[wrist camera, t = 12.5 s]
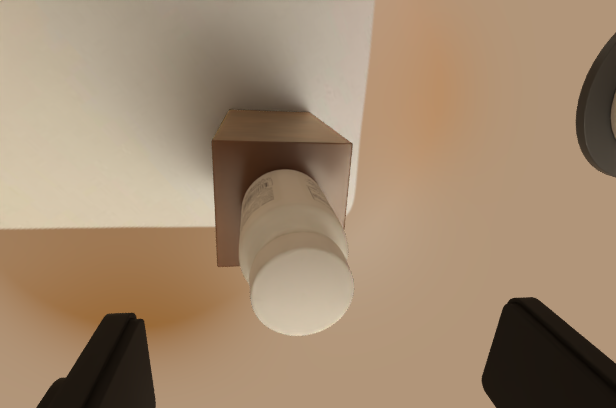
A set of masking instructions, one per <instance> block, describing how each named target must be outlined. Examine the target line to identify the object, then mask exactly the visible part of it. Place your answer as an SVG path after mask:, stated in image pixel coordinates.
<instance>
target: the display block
mask: <svg viewBox="0 0 616 408" xmlns="http://www.w3.org/2000/svg"><path fill="white" fill-rule="evenodd" d="M352 145H353V144H352V143H351V142H349V141H348V140H347V139H345V138H344V137H343V136H341V135H340V134H339V133H337V132H336V131H334V130H333V129H332V128H330V127H329V126H328V125H326V124H325V123H324V122H322V121H321V120H320V119H318V118H317V117H315V116H314V115H313V114H311V113H310V112H287V111H260V110H234V109H229V111H228V113H227V114H226V116H225V118H224V120H223V122H222V123H221V125H220V127H219V129H218V131H217V132H216V134H215V136H214V138H213V139H212V160H213V181H214V203H215V225H216V244H217V245H216V247H217V266H218V267H230V266H240V263H239V239H240V225H241V209H242V202H243V199H244V196H245V193H246V191H247V190H248V188H249V187H250V186H251V185H252V183H253V182H254V181H255V180H257V179H258V178H259V177H261V176H262V175H264V174H266V173H268V172H271V171H275V170H282V169H289V170H295V171H299V172H301V173H304V174H306V175H308V176H309V177H310V178H312V179H313V180H314V181H315V182H316V183H317V184H318V186H319V187H320V188H321V190H322V192H323V193H324V195H325V197H326V199H327V200H328V202H329V204H330V205H331V207H332V209H333V211H334V212H335V214H336V216H337V218H338V219H339V221H340V223H341V225H342V227H343V229H344V227H345V217H346V206H347V196H348V186H349V176H350V166H351V155H352Z"/></svg>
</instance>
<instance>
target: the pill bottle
mask: <svg viewBox="0 0 616 408" xmlns="http://www.w3.org/2000/svg"><path fill="white" fill-rule="evenodd" d="M347 259H348V242H347V238H346V234H345V231H344V229H343V227H342V225H341V223H340V221H339V219H338V218H337V216H336V214H335V212H334V211H333V209H332V207H331V205H330V204H329V202H328V200H327V199H326V197H325V195H324V193H323V192H322V190H321V188H320V187H319V186H318V184H317V183H316V182H315V181H314V180H313V179H312V178H310V177H309V176H308V175H306V174H304V173H301V172H299V171H295V170H289V169H282V170H275V171H271V172H268V173H266V174H264V175H262V176H261V177H259V178H258V179H257V180H255V181H254V182H253V183H252V185H251V186H250V187H249V188H248V190H247V191H246V193H245V196H244V199H243V202H242V209H241V225H240V239H239V263H240V267H241V271H242V273H243V275H244V277H245V279H246V280H247V282H248V283H249V285H250V299H251V304H252V307H253V310H254V312H255V314H256V316H257V317H258V319H259V320H260V321H261V322H262V323H263V324H264V325H266V326H267V327H268V328H270V329H272V330H274V331H276V332H279V333H282V334H285V335H291V336H304V335H309V334H314V333H317V332H319V331H322V330H324V329H327V328H328V327H330V326H332V325H333V324H334V323H336V322H337V321H338V320H339V319H340V318H341V317H342V316H343V315H344V314H345V312H346V310H347V309H348V308H349V306H350V303H351V301H352V298H353V293H354V280H353V276H352V273H351V271H350V268H349V266H348V263H347Z"/></svg>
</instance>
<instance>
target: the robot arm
mask: <svg viewBox="0 0 616 408" xmlns="http://www.w3.org/2000/svg"><path fill="white" fill-rule="evenodd" d="M611 126H612V131H613V134H614V137H615V139H616V92H615V94H614V98H613V102H612V107H611ZM482 385H483V388H484V390H485V392H486V394H487V395H488V397H489V398H490V399H491V401H492V402H493V404H494V405H495V407H496V408H616V363H614V362H613V361H612V360H611V359H610V358H608V357H607V356H606V355H605V354H604V353H602V352H601V351H600V350H599V349H597V348H596V347H595V346H594V345H592V344H591V343H590V342H589V341H588V340H587V339H585V338H584V337H583V336H582V335H581V334H579V333H578V332H577V331H576V330H575V329H573V328H572V327H571V326H570V325H568V324H567V323H566V322H565V321H564V320H562V319H561V318H560V317H559V316H558V315H556V314H555V313H554V312H553V311H552V310H550V309H549V308H548V307H547V306H545V305H544V304H543V303H542V302H541V301H539V300H538V299H536V298H533V297H528V298H512V299H510V300H509V302H508V303H507V304H506V305H505V306H504V307H503V310H502V313H501V316H500V319H499V323H498V326H497V329H496V333H495V336H494V339H493V342H492V346H491V349H490V352H489V356H488V359H487V362H486V365H485V369H484V372H483V375H482ZM155 407H156V402H155V394H154V387H153V380H152V373H151V366H150V359H149V352H148V344H147V337H146V330H145V324H144V320H143V319H136V315H135V314H134V313H115V314H107V315H106V316H105V317H104V318H103V320H102V321H101V323H100V325H99V326H98V328H97V329H96V331H95V332H94V334H93V336H92V337H91V339H90V340H89V342H88V344H87V345H86V347H85V348H84V350H83V352H82V353H81V355H80V356H79V358H78V359H77V361H76V363H75V365H74V366H73V368H72V369H71V371H70V372H69V374H68V376H67V377H66V378H59V379H58V380H56V381H55V382H54V383H53V384H52V386H51V387H50V388H49V389H48V391H47V392H46V394H45V396H44V397H43V398H42V400H41V401H40V403H39V404H38V406H37V408H155Z"/></svg>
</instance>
